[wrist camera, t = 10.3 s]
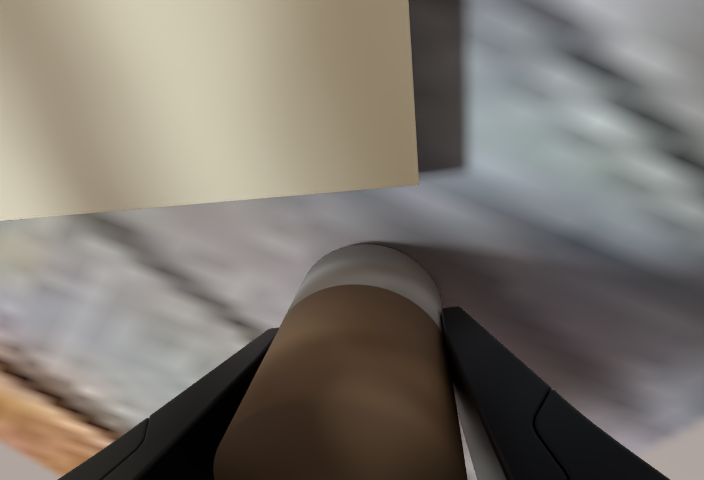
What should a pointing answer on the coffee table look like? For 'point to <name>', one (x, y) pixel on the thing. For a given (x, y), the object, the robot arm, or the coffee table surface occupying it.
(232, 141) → the plywood panel
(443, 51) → the coffee table surface
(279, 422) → the peg
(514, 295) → the coffee table surface
